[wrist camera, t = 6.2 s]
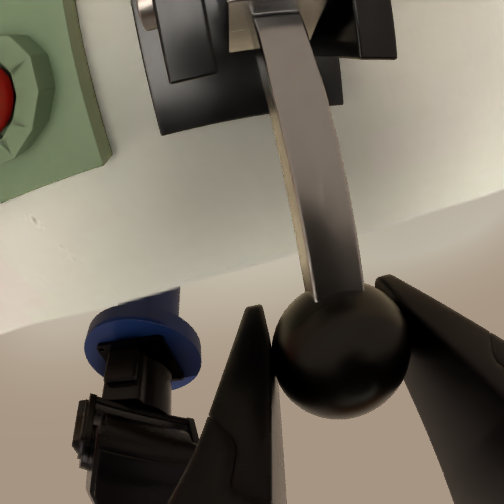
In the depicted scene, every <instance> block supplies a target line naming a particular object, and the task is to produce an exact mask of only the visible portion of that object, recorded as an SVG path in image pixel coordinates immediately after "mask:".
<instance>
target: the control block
mask: <svg viewBox="0 0 504 504" xmlns="http://www.w3.org/2000/svg"><path fill="white" fill-rule="evenodd" d="M0 68H1V69H2V70H4V71H5V72H6V74H7V75H8V77H9V78H10V80H11V83H12V86H13V91H14V104H13V110H12V113H11V116H10V119H9V121H8V123H7V125H6V126H5V128H4V129H3V130H2V131H1V132H0V204H1V203H3V202H5V201H8V200H10V199H12V198H15V197H17V196H20V195H22V194H25V193H27V192H30V191H32V190H35V189H37V188H40V187H42V186H45V185H48V184H50V183H53V182H56V181H59V180H61V179H64V178H67V177H70V176H73V175H76V174H79V173H81V172H84V171H87V170H90V169H94V168H97V167H100V166H103V165H104V164H105V163H106V162H107V161H108V159H109V158H110V157H111V156H112V152H111V149H110V146H109V142H108V139H107V136H106V132H105V129H104V126H103V122H102V119H101V115H100V111H99V108H98V104H97V100H96V97H95V93H94V89H93V85H92V81H91V77H90V73H89V69H88V65H87V60H86V56H85V51H84V47H83V42H82V37H81V32H80V27H79V22H78V17H77V11H76V6H75V0H0Z"/></svg>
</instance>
